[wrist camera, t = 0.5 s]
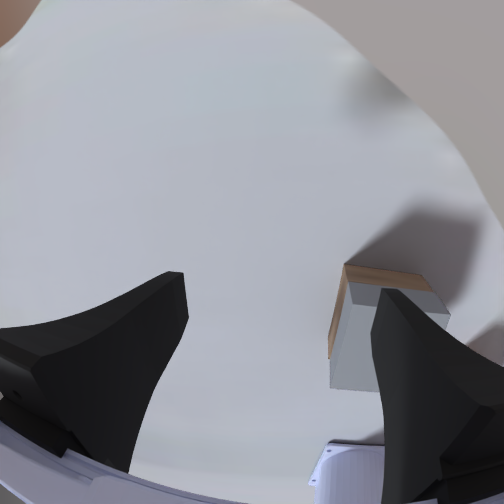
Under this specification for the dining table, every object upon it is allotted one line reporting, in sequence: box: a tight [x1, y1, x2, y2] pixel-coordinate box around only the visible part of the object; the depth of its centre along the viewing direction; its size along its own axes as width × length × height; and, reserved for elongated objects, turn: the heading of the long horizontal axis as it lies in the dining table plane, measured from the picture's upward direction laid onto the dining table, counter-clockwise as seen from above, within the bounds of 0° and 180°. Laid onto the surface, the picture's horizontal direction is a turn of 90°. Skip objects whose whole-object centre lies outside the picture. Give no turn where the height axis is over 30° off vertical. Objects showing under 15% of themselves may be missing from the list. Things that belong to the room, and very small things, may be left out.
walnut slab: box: [328, 264, 434, 359], centre depth 20 cm, size 6×6×3 cm
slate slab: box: [330, 281, 451, 392], centre depth 17 cm, size 6×6×3 cm
